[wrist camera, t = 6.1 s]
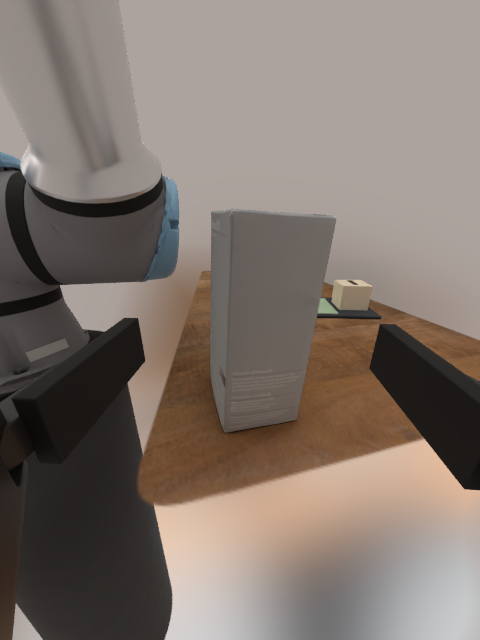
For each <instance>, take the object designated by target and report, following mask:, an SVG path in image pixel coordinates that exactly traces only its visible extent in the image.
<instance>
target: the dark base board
mask: <svg viewBox="0 0 480 640" xmlns="http://www.w3.org/2000/svg"><path fill="white" fill-rule="evenodd" d="M372 287H373V286H371V285H369V284H367V283H365V282H363V281H361V280H335V281H334V288H333V294H332V298H321V299H320V303H319V308H318V314H317V317H320V318H365V319H381V316H380V315H378V314H377V313H375V312H374V311H373V310H371V309H370V308H369V307H368V306H369V301H370V296H371V292H372Z"/></svg>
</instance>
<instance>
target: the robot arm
mask: <svg viewBox="0 0 480 640" xmlns="http://www.w3.org/2000/svg"><path fill="white" fill-rule="evenodd" d="M0 86H1V88H2V90H3V92H4V94H5V96H6V98H7V100H8V102H9V104H10V106H11V108H12V110H13V112H14V114H15V116H16V118H17V120H18V121H19V124H20V126H21V128H22V129H23V132H24V133H25V135H26V138H27V139H28V141H29V146H28V148H27V150H26V152H25V154H24V155H23V157H22V159H21V161H20V160H19V159H17V158H15V157H13V156H11V155H8V154H5V153H1V152H0V640H12V636H13V625H14V613H15V604H16V593H17V582H18V572H19V561H20V550H21V539H22V529H23V518H24V507H25V497H26V486H27V475H28V465H27V462H26V460H25V459H26V458H27V457H28V456H29V455H30V454H31V453H32V452H33V451H34V450H35V453H36V455H37V457H38V459H39V461H40V463H55V464H61V463H62V462H63V461H64V460H65V459H66V457H67V456H68V455H69V454H70V452H71V451H72V450H73V449H74V448H75V446H76V445H77V444H78V443H79V441H80V440H81V439H82V438H83V437H84V435H85V434H86V433H87V432H88V430H89V429H90V428H91V427H92V425H93V424H94V423H95V422H96V421H97V419H98V418H99V417H100V416H101V414H102V413H103V412H104V411H105V410H106V408H107V407H108V406H109V405H110V403H111V402H112V401H113V400H114V399H115V397H116V396H117V395H118V394H119V392H120V391H121V390H122V389H123V387H124V386H125V385H126V384H127V383H128V381H129V380H130V379H131V378H132V376H133V375H134V374H135V373H136V371H137V370H138V369H139V368H140V366H141V365H142V364H143V363H144V362H145V356H144V350H143V344H142V339H141V333H140V328H139V321H138V318H124V319H122V320H121V321H120V322H118V323H117V324H116V325H114V326H113V327H111V328H110V329H108V330H107V331H105V332H104V333H103V334H101V335H100V336H98V337H97V338H96V339H94V340H93V341H92V340H91V337H90V336H89V334H88V333H87V332H86V331H85V330H84V329H82V328H81V326H80V324H79V323H78V321H77V319H76V318H75V317H74V315H73V313H72V312H71V310H70V309H69V308H68V307H67V305H66V303H65V301H64V298H63V295H62V292H61V288H60V285H69V284H93V283H116V282H145V281H147V280H154V279H162V278H167V277H168V276H170V275H171V274H172V273H173V272H174V270H175V268H176V264H177V258H178V245H179V228H178V224H179V200H178V191H177V186H176V184H175V182H174V181H173V180H171V179H168V178H167V177H165V176H162V169H161V164H160V161H159V159H158V158H157V157H156V155H155V154H154V153H153V152H151V151H150V150H149V149H148V148H147V147H146V146H145V145H144V144H143V143H142V141H141V137H140V130H139V124H138V118H137V113H136V105H135V99H134V94H133V87H132V82H131V74H130V68H129V62H128V56H127V50H126V44H125V37H124V31H123V25H122V19H121V13H120V7H119V1H118V0H0ZM369 369H370V370H371V371H372V372H373V374H374V375H375V376H376V378H377V379H378V380H379V381H380V383H381V384H382V385H383V386H384V388H385V389H386V390H387V392H388V393H389V394H390V395H391V397H392V398H393V399H394V400H395V402H396V403H397V404H398V405H399V407H400V408H401V409H402V411H403V412H404V413H405V414H406V416H407V417H408V418H409V419H410V421H411V422H412V423H413V425H414V426H415V427H416V428H417V430H418V431H419V432H420V433H421V435H422V436H423V437H424V439H425V440H426V441H427V442H428V444H429V445H430V446H431V447H432V448H433V450H434V451H435V452H436V453H437V455H438V456H439V458H440V459H441V460H442V461H443V463H444V464H445V465H446V466H447V468H448V469H449V470H450V472H451V473H452V474H453V475H454V476H455V478H456V479H457V480H458V482H459V483H460V484H461V485H462V487H463V488H464V489H470V490H480V381H478V380H476V379H474V378H472V377H470V376H467V375H465V374H464V373H462V372H461V371H460V370H458V369H457V368H455V367H454V366H453V365H451V364H450V363H448V362H447V361H446V360H444V359H443V358H441V357H440V356H439V355H437V354H436V353H434V352H433V351H432V350H430V349H429V348H427V347H426V346H425V345H423V344H422V343H420V342H419V341H418V340H416V339H415V338H413V337H412V336H411V335H409V334H408V333H407V332H405V331H404V330H402V329H401V328H400V327H398V326H397V325H395V324H380V327H379V331H378V335H377V339H376V343H375V348H374V352H373V356H372V360H371V364H370V368H369Z"/></svg>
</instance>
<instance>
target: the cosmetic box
mask: <svg viewBox="0 0 480 640" xmlns="http://www.w3.org/2000/svg"><path fill="white" fill-rule="evenodd" d="M211 219H212V220H211V231H212V232H211V233H212V234H211V330H210V377H211V383H212V388H213V394H214V399H215V403H216V407H217V411H218V415H219V418H220V422H221V425H222V429H223V430H224V431H225V432H232V431H238V430H243V429H248V428H254V427H259V426H266V425H272V424H278V423H283V422H288V421H293V420H296V419H297V418H298V412H299V406H300V401H301V396H302V391H303V385H304V381H305V375H306V370H307V365H308V360H309V355H310V350H311V344H312V339H313V334H314V329H315V324H316V319H317V314H318V308H319V303H320V299H321V294H322V289H323V284H324V278H325V273H326V268H327V263H328V259H329V254H330V248H331V244H332V239H333V233H334V229H335V223H336V218H335V216H330V215H315V214H299V213H282V212H269V211H256V210H239V209H236V210H235V209H231V210H226V211H212V212H211Z"/></svg>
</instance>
